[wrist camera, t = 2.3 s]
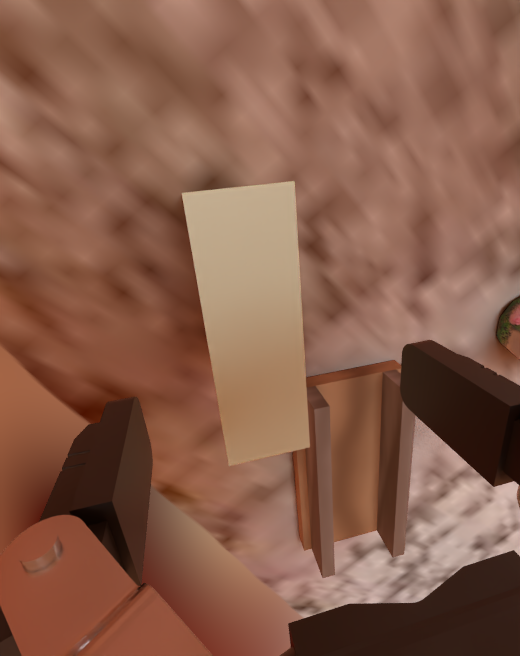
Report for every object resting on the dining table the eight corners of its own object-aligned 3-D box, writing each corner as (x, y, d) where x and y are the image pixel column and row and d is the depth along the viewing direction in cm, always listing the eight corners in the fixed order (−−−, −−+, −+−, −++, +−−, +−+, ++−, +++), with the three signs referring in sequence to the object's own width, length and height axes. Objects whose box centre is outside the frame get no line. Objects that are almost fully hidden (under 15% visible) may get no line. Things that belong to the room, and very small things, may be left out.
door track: (394, 359, 31) (426, 385, 27) (386, 513, 38) (411, 551, 34) (286, 381, 29) (303, 411, 25) (299, 537, 36) (314, 580, 32)
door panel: (241, 188, 23) (294, 180, 12) (259, 348, 28) (310, 447, 17) (182, 194, 23) (181, 193, 12) (210, 357, 27) (228, 466, 16)
